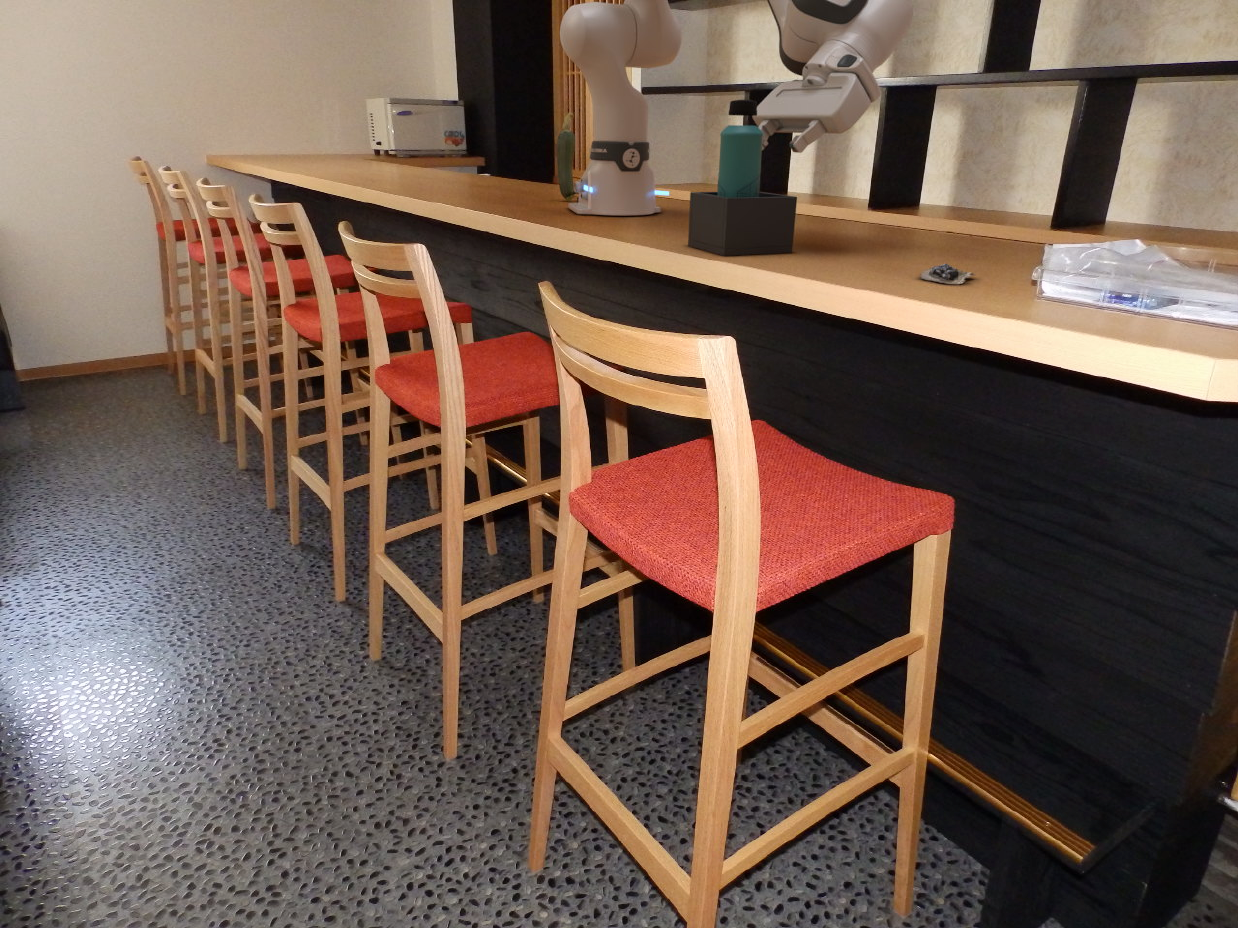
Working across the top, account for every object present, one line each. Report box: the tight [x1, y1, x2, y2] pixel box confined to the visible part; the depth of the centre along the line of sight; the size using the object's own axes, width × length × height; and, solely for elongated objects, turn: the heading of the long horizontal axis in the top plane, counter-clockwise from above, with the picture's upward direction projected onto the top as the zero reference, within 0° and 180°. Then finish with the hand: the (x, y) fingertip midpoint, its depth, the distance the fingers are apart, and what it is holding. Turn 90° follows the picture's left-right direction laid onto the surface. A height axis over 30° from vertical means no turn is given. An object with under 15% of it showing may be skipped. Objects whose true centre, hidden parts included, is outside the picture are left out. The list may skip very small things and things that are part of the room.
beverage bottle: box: [716, 99, 763, 198], centre depth 125 cm, size 6×7×20 cm
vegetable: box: [556, 111, 576, 202], centre depth 200 cm, size 4×4×20 cm
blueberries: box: [920, 263, 976, 285], centre depth 105 cm, size 7×8×2 cm
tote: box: [687, 191, 798, 257], centre depth 127 cm, size 12×12×8 cm
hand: (774, 148), depth 125 cm, fingers open, 8 cm apart
